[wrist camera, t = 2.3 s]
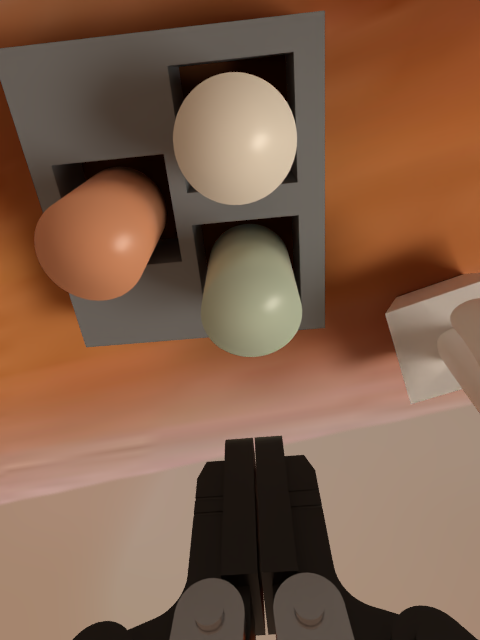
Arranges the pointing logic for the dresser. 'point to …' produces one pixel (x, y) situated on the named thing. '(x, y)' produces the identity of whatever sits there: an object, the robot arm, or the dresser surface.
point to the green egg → (250, 292)
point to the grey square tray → (169, 154)
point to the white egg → (235, 138)
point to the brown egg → (101, 234)
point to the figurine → (439, 338)
